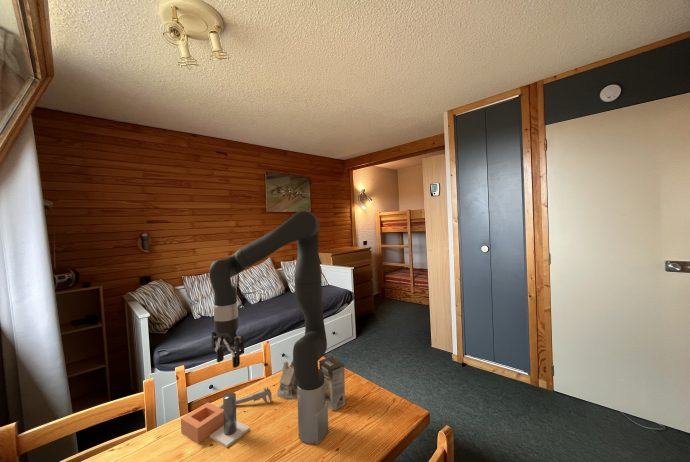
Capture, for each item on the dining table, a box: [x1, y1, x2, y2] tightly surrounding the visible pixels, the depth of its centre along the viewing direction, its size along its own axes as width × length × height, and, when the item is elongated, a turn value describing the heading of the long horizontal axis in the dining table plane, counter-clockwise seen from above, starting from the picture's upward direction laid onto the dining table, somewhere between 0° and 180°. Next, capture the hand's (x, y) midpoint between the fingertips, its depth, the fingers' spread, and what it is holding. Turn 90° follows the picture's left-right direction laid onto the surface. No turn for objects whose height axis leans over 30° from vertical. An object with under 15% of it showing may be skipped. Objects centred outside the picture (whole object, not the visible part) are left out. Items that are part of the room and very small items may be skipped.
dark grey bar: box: [222, 392, 237, 435], centre depth 92 cm, size 4×4×12 cm
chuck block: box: [180, 401, 224, 444], centre depth 95 cm, size 10×10×5 cm
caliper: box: [218, 386, 273, 409], centre depth 108 cm, size 20×1×6 cm, turn 98°
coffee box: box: [318, 356, 346, 412], centre depth 107 cm, size 9×6×16 cm
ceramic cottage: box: [276, 360, 298, 401], centre depth 116 cm, size 16×16×15 cm
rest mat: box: [209, 420, 251, 449], centre depth 92 cm, size 9×9×1 cm
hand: (228, 363), depth 92 cm, fingers open, 8 cm apart
